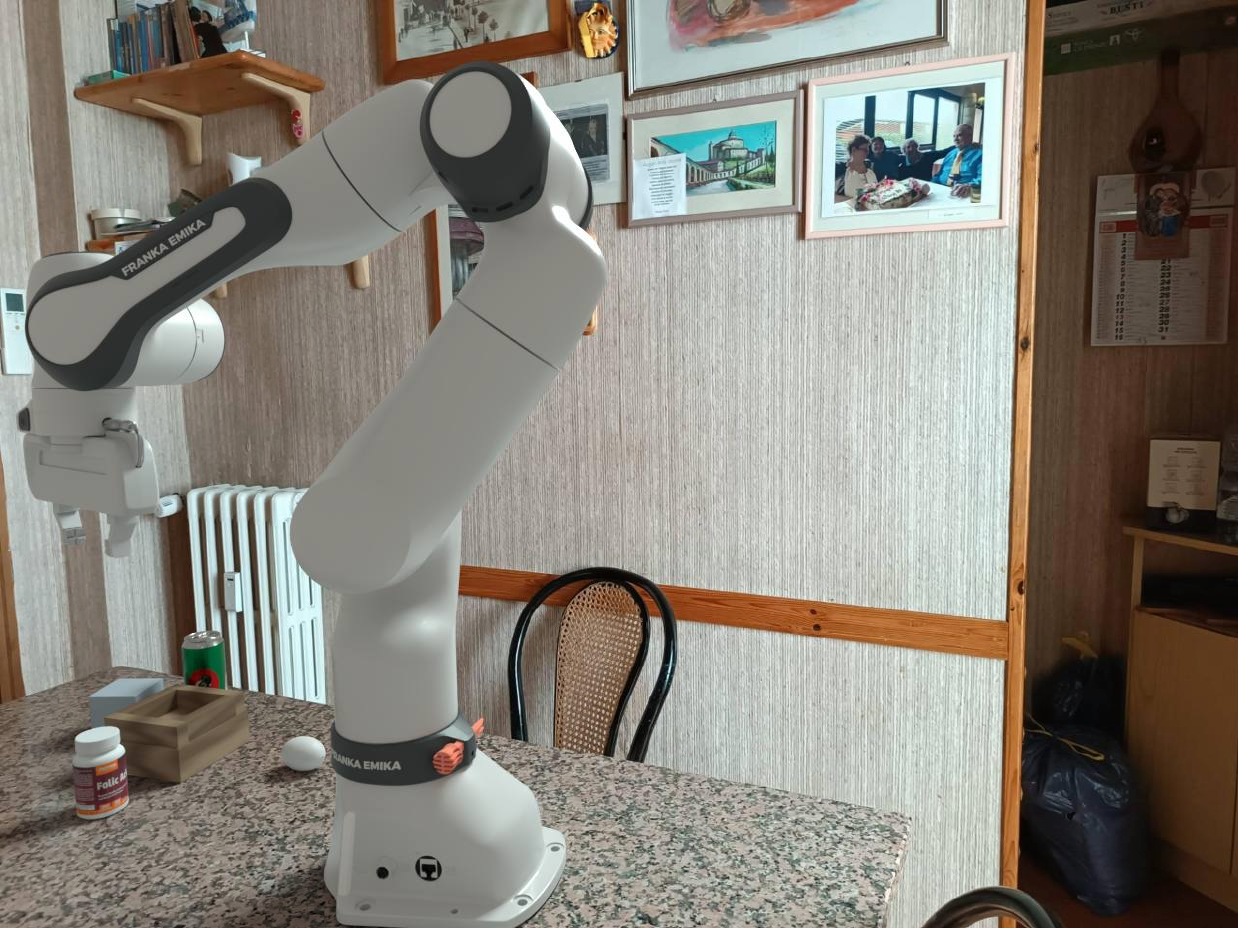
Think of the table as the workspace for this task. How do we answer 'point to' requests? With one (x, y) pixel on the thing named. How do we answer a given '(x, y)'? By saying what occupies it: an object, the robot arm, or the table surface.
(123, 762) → the pill bottle
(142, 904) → the table surface
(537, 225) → the robot arm
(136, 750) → the wooden open box
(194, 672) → the soda can
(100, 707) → the slate block
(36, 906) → the table surface
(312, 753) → the egg
